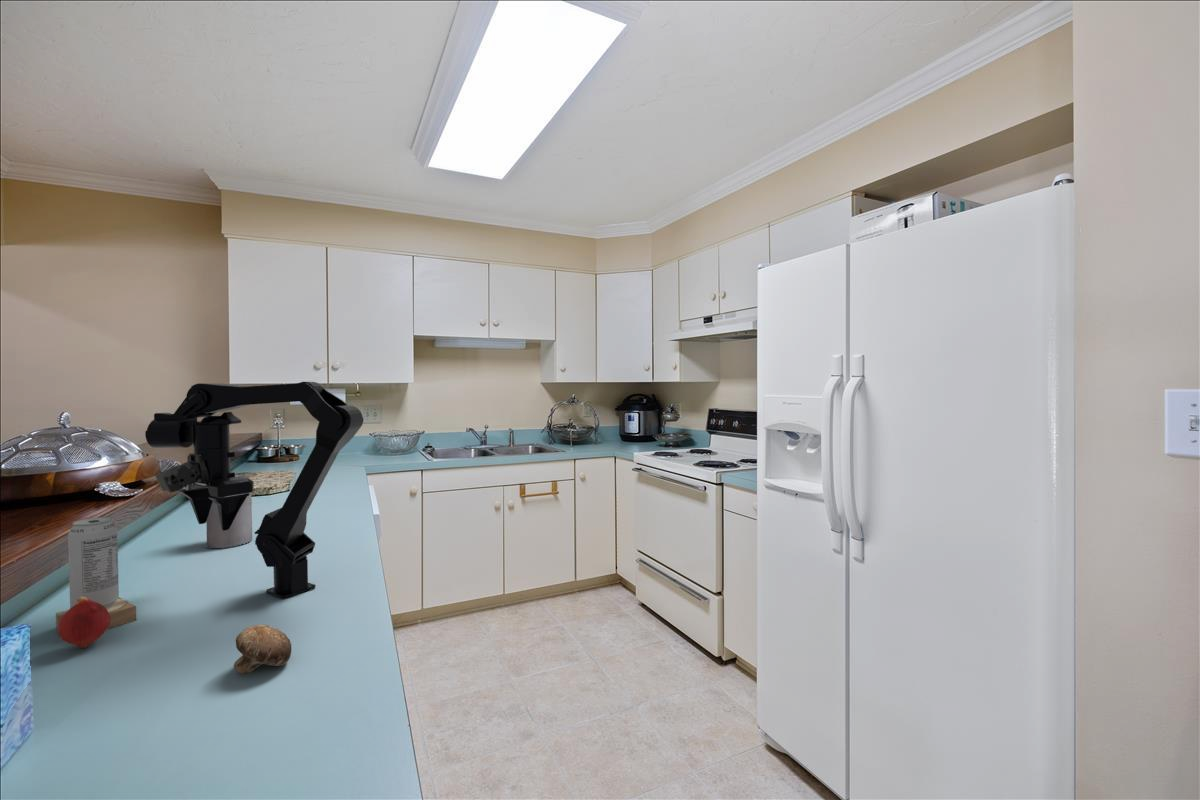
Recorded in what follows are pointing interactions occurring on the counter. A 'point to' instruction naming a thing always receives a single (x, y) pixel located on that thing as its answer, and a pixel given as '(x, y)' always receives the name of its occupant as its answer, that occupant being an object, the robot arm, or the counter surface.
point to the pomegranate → (84, 623)
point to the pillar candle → (236, 533)
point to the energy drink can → (93, 561)
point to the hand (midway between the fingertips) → (213, 526)
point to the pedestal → (113, 613)
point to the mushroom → (261, 648)
